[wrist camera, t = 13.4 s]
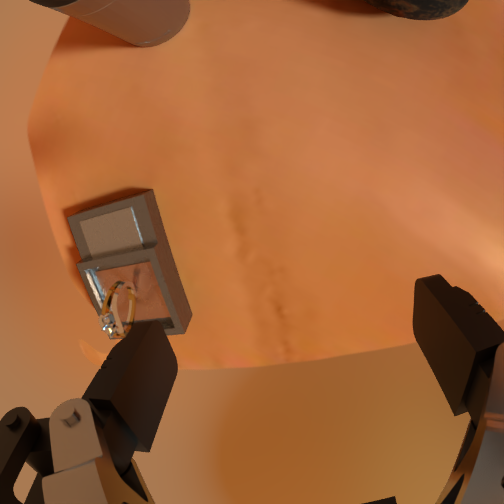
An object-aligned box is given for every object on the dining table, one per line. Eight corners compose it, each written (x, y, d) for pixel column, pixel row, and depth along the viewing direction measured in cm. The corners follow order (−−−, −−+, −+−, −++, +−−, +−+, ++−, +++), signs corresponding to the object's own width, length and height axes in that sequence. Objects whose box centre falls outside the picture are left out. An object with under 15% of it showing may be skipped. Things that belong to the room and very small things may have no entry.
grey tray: (78, 211, 38) (60, 221, 34) (152, 189, 37) (138, 197, 32) (121, 322, 45) (110, 339, 40) (192, 314, 43) (184, 333, 39)
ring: (121, 268, 37) (92, 299, 30) (144, 272, 37) (117, 305, 30) (125, 313, 40) (100, 349, 33) (146, 318, 40) (124, 355, 33)
